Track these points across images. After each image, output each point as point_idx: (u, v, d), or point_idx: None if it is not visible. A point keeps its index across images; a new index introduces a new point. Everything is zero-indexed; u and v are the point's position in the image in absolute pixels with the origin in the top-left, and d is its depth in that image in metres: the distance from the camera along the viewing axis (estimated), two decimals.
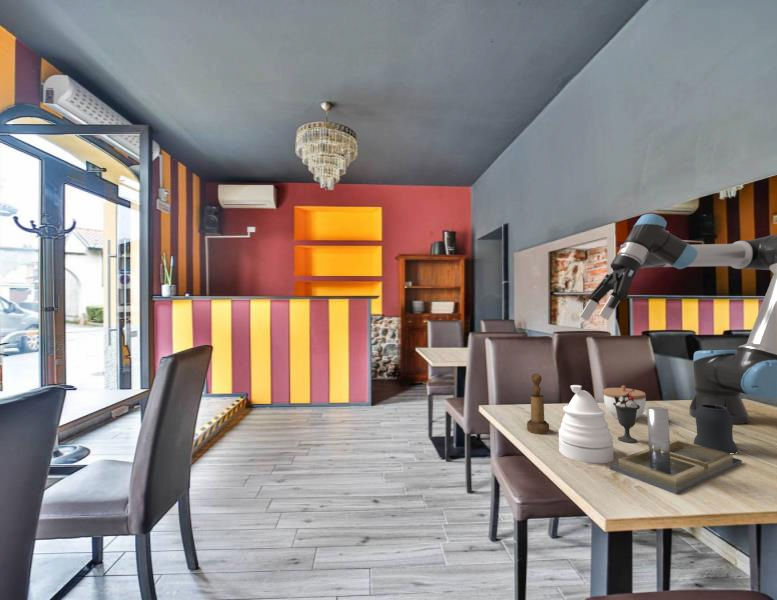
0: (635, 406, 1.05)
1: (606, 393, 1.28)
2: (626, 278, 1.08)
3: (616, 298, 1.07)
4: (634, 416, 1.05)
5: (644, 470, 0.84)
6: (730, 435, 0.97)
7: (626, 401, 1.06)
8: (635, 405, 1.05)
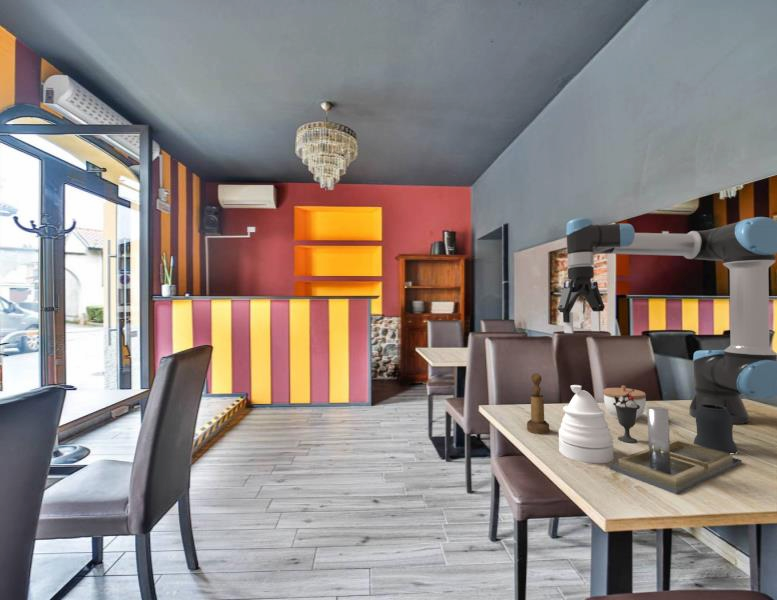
0: (635, 406, 1.05)
1: (606, 393, 1.28)
2: (564, 291, 1.17)
3: (564, 313, 1.16)
4: (634, 416, 1.05)
5: (644, 470, 0.84)
6: (730, 435, 0.97)
7: (626, 401, 1.06)
8: (635, 405, 1.05)
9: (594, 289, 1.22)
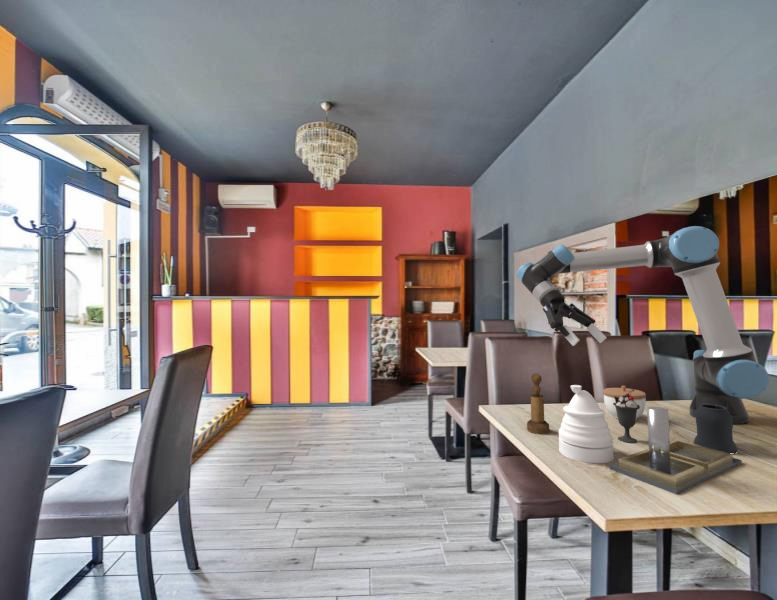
0: (635, 406, 1.05)
1: (606, 393, 1.28)
2: (547, 314, 1.22)
3: (559, 329, 1.18)
4: (634, 416, 1.05)
5: (644, 470, 0.84)
6: (730, 435, 0.97)
7: (626, 401, 1.06)
8: (635, 405, 1.05)
9: (574, 309, 1.28)
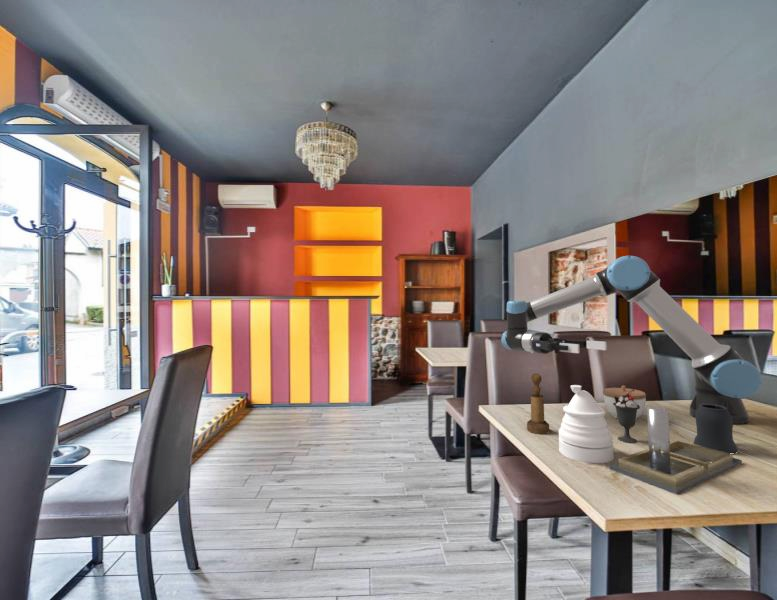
0: (635, 406, 1.05)
1: (606, 393, 1.28)
2: (541, 347, 1.25)
3: (557, 348, 1.18)
4: (634, 416, 1.05)
5: (644, 470, 0.84)
6: (730, 435, 0.97)
7: (626, 401, 1.06)
8: (635, 405, 1.05)
9: None
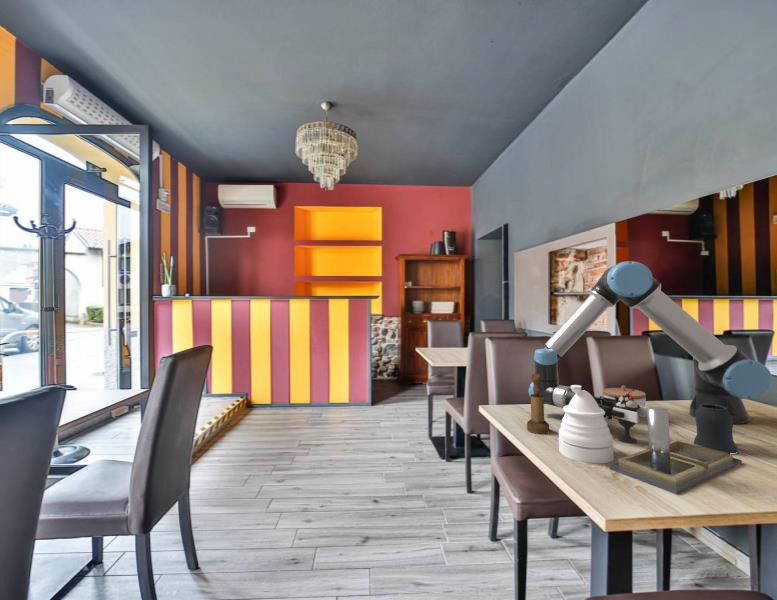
0: (635, 406, 1.05)
1: (606, 393, 1.28)
2: None
3: (611, 414, 1.06)
4: None
5: (644, 470, 0.84)
6: (730, 435, 0.97)
7: (626, 401, 1.06)
8: (635, 405, 1.05)
9: (605, 400, 1.18)
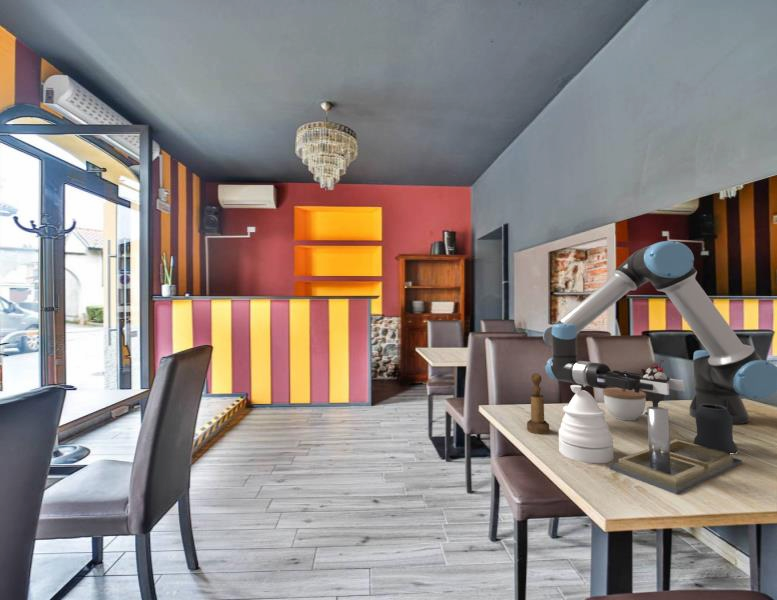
0: (665, 378, 0.97)
1: (606, 393, 1.28)
2: (609, 383, 1.04)
3: (638, 386, 0.98)
4: None
5: (644, 470, 0.84)
6: (730, 435, 0.97)
7: (654, 372, 0.98)
8: (665, 377, 0.97)
9: None
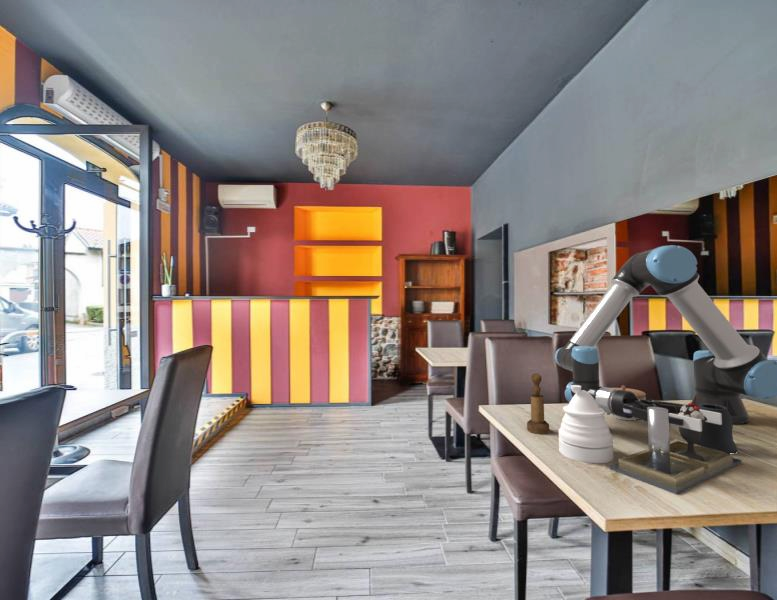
0: (702, 417, 0.90)
1: None
2: (636, 415, 0.98)
3: None
4: None
5: (644, 470, 0.84)
6: (730, 435, 0.97)
7: (690, 411, 0.92)
8: (702, 416, 0.91)
9: None
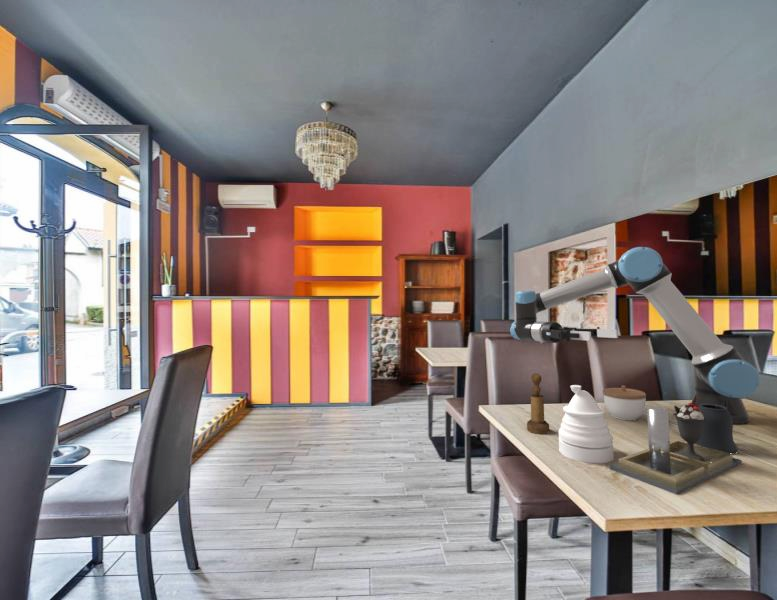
0: (702, 418, 0.90)
1: (606, 393, 1.28)
2: (552, 335, 1.24)
3: (568, 336, 1.18)
4: (700, 429, 0.91)
5: (644, 470, 0.84)
6: (730, 435, 0.97)
7: (690, 412, 0.92)
8: (702, 417, 0.90)
9: None
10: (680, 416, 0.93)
